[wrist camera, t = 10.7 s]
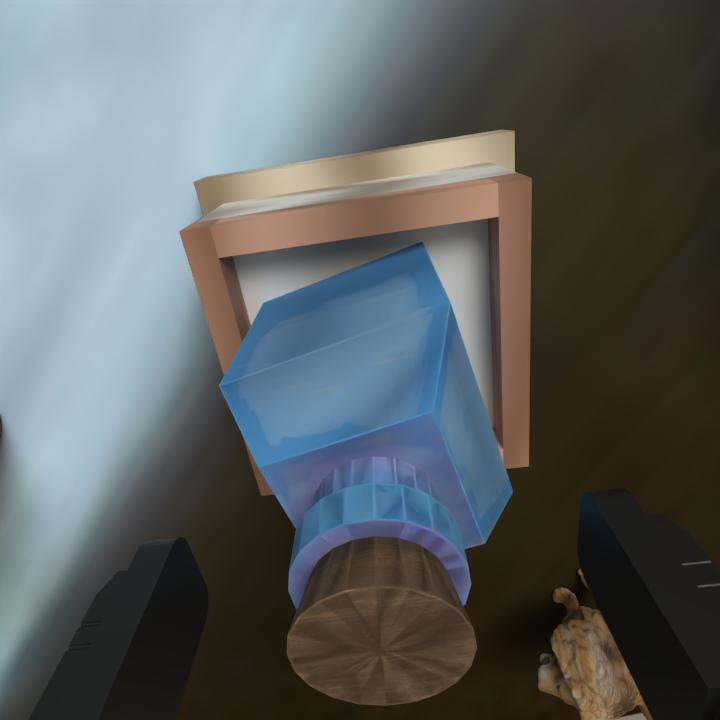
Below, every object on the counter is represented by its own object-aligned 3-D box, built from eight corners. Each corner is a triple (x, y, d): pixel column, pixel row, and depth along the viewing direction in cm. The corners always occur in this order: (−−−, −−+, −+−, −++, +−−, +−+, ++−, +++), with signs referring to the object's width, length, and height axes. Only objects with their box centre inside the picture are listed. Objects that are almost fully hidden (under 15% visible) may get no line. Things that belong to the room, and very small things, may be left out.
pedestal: (273, 418, 28) (244, 515, 21) (207, 176, 22) (138, 204, 15) (505, 390, 27) (553, 482, 20) (501, 129, 21) (566, 136, 14)
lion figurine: (496, 583, 34) (538, 730, 26) (552, 537, 32) (616, 681, 24) (640, 659, 37) (716, 809, 29) (697, 622, 35) (796, 772, 27)
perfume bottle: (422, 241, 17) (522, 456, 6) (470, 384, 20) (600, 712, 9) (263, 302, 18) (116, 577, 7) (329, 431, 21) (291, 773, 10)
